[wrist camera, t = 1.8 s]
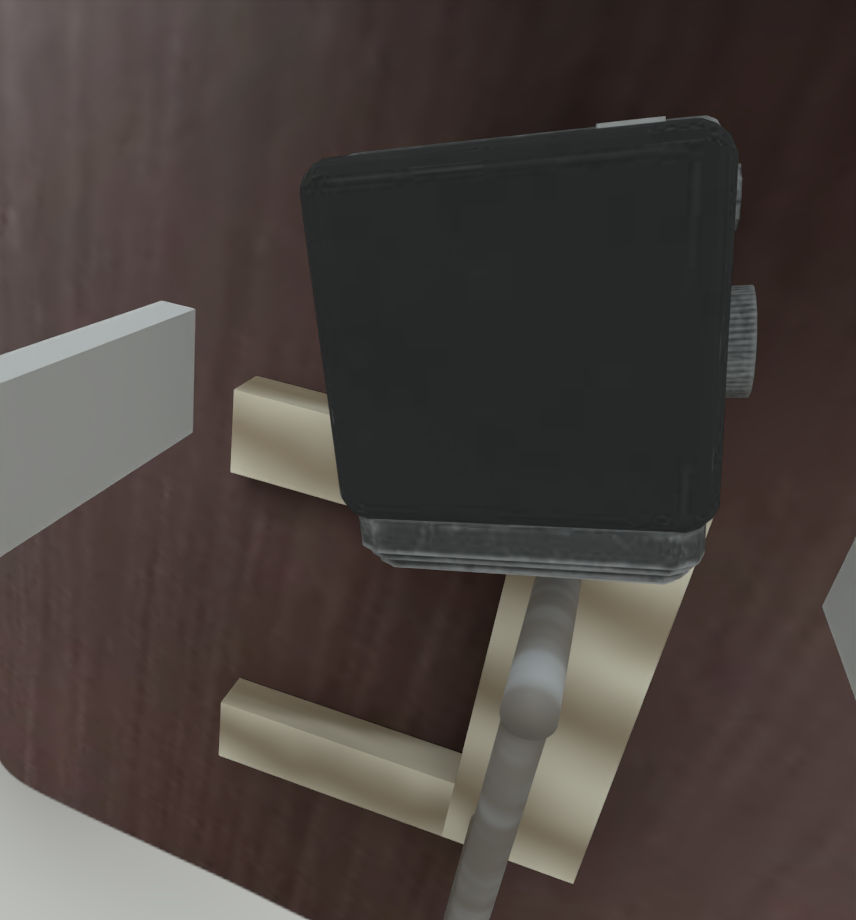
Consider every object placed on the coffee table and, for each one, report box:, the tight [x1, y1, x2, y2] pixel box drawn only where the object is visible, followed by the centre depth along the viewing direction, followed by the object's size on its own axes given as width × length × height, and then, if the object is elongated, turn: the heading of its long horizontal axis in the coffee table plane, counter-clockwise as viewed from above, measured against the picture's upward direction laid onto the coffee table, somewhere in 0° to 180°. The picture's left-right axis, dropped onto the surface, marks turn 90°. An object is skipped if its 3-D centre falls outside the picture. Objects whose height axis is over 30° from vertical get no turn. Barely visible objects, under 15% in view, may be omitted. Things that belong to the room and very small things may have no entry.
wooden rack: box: [219, 376, 713, 920], centre depth 31 cm, size 22×20×13 cm
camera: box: [300, 115, 758, 585], centre depth 21 cm, size 10×10×15 cm
